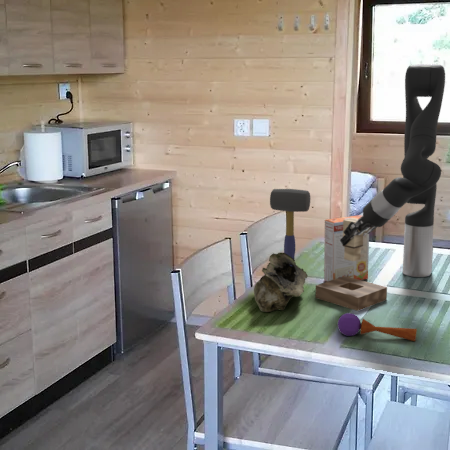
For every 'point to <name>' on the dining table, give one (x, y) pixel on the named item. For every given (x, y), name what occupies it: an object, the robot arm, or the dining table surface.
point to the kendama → (371, 328)
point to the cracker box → (342, 253)
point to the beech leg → (352, 243)
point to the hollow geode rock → (279, 283)
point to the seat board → (351, 293)
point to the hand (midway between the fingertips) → (347, 241)
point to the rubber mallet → (290, 211)
